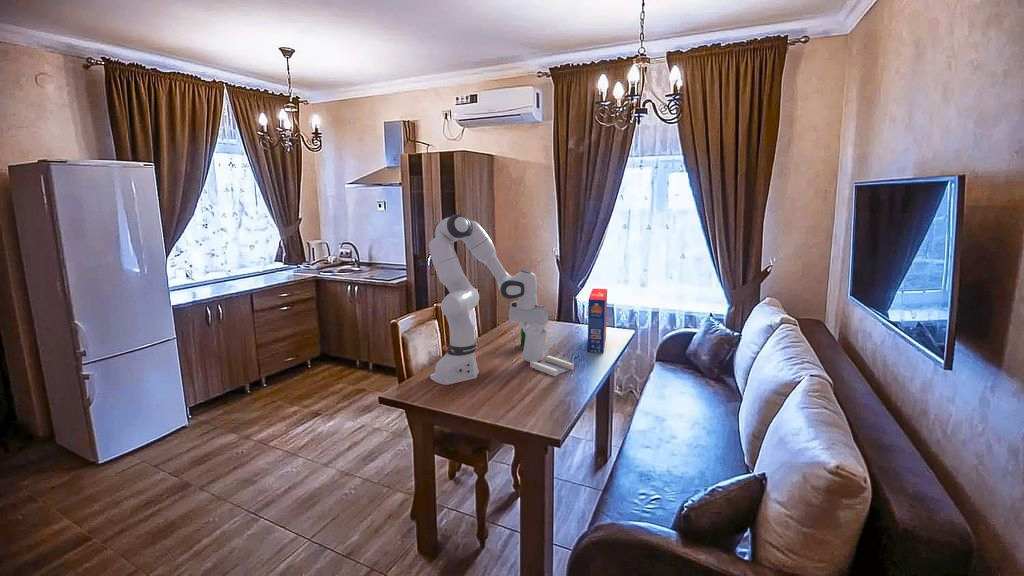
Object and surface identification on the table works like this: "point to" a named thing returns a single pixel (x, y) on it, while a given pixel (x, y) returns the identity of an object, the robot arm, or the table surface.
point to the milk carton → (534, 343)
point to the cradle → (553, 366)
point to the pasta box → (597, 320)
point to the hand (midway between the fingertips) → (528, 331)
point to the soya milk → (523, 333)
